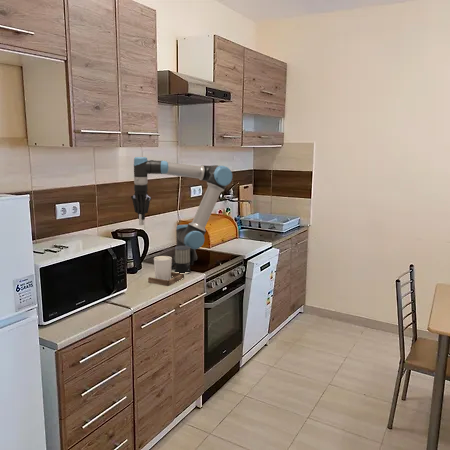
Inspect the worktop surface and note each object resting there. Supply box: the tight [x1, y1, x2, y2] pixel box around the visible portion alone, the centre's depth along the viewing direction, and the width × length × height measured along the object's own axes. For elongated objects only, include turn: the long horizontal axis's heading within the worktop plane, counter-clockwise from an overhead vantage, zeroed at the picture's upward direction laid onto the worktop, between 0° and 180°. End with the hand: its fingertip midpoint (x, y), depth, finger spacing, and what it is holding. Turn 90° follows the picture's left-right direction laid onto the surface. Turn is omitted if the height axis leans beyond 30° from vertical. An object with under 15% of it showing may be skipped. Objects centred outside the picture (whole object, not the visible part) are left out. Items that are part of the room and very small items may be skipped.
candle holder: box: [153, 255, 173, 280], centre depth 234 cm, size 10×10×12 cm
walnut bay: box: [147, 271, 185, 287], centre depth 233 cm, size 15×13×2 cm
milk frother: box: [171, 246, 195, 273], centre depth 252 cm, size 14×16×15 cm
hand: (141, 225), depth 250 cm, fingers closed
